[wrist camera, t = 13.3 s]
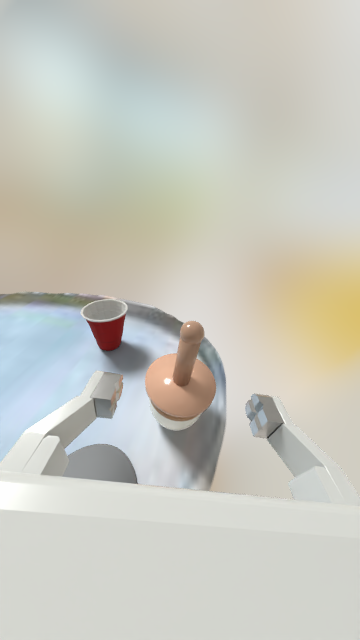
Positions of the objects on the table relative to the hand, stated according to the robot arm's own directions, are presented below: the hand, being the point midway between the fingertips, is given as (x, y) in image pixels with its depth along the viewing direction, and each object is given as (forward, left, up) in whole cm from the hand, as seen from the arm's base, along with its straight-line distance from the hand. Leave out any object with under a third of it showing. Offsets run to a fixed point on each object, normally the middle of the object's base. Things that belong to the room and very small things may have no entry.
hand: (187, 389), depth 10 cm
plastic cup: (-7, +34, -24) cm, 42 cm away
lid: (+5, +11, -15) cm, 19 cm away
